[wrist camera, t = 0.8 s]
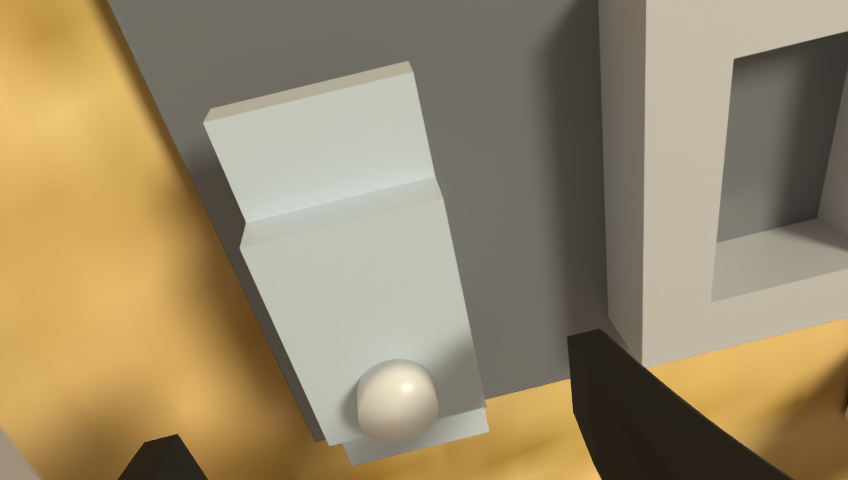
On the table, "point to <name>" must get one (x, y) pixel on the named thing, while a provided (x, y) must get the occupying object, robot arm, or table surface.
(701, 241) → the servo chassis
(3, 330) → the table surface
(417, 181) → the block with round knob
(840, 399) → the table surface
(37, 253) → the table surface
